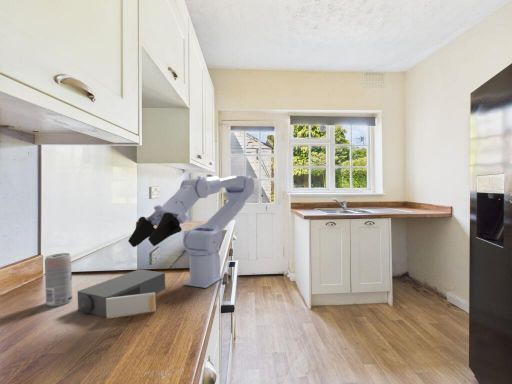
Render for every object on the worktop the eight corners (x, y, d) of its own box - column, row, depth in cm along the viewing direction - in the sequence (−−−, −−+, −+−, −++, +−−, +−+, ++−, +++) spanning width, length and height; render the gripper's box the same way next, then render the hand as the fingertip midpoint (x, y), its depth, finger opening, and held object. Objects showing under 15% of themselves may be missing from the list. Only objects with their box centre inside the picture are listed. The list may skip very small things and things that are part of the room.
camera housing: (139, 284, 79) (139, 269, 79) (165, 288, 75) (165, 273, 75) (73, 311, 62) (73, 292, 62) (103, 319, 58) (102, 299, 58)
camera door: (155, 309, 61) (155, 292, 61) (155, 312, 60) (154, 294, 60) (107, 316, 58) (107, 298, 58) (105, 319, 57) (105, 300, 57)
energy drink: (68, 296, 71) (67, 252, 71) (75, 301, 68) (73, 254, 67) (43, 303, 67) (41, 256, 67) (49, 309, 64) (47, 259, 63)
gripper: (151, 198, 73) (112, 232, 63) (187, 191, 65) (150, 227, 55) (165, 218, 76) (130, 253, 66) (201, 213, 68) (169, 252, 58)
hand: (141, 243), depth 60 cm, fingers open, 7 cm apart
